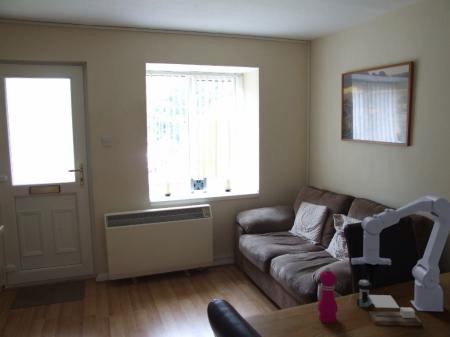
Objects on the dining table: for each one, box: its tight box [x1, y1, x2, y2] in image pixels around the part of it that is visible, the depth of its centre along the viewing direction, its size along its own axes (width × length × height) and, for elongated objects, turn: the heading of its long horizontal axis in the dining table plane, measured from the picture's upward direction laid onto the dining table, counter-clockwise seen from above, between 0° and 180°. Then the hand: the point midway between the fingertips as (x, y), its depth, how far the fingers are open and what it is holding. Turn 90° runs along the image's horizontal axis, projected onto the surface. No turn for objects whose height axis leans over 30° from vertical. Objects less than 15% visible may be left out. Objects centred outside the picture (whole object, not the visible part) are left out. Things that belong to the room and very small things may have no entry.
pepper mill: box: [317, 266, 339, 324], centre depth 140 cm, size 7×7×20 cm
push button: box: [356, 279, 373, 308], centre depth 150 cm, size 7×5×10 cm
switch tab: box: [399, 306, 416, 318], centre depth 138 cm, size 4×3×2 cm
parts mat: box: [369, 294, 400, 309], centre depth 153 cm, size 9×11×1 cm
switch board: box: [368, 310, 422, 327], centre depth 139 cm, size 16×7×2 cm, turn 84°
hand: (370, 281), depth 148 cm, fingers closed
